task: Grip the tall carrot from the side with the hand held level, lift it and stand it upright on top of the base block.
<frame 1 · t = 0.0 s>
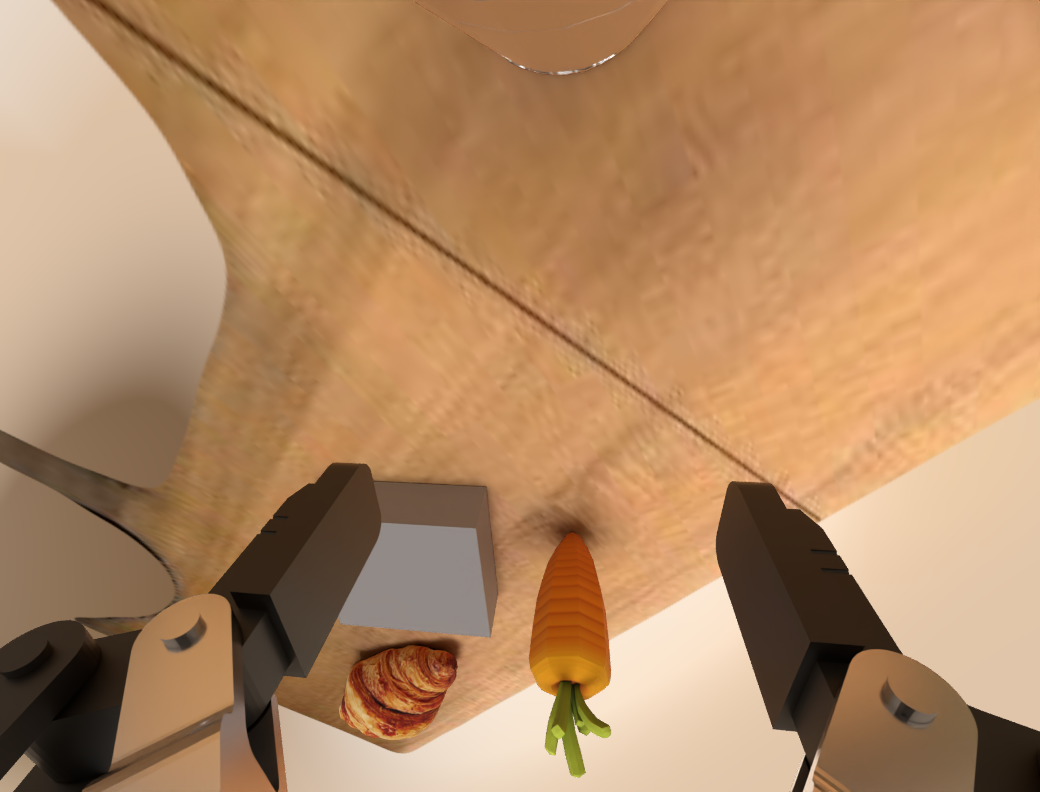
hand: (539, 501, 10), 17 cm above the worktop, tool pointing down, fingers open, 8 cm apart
croissant: (398, 666, 51), on the worktop
carrot: (572, 531, 36), on the worktop
base block: (416, 540, 38), on the worktop
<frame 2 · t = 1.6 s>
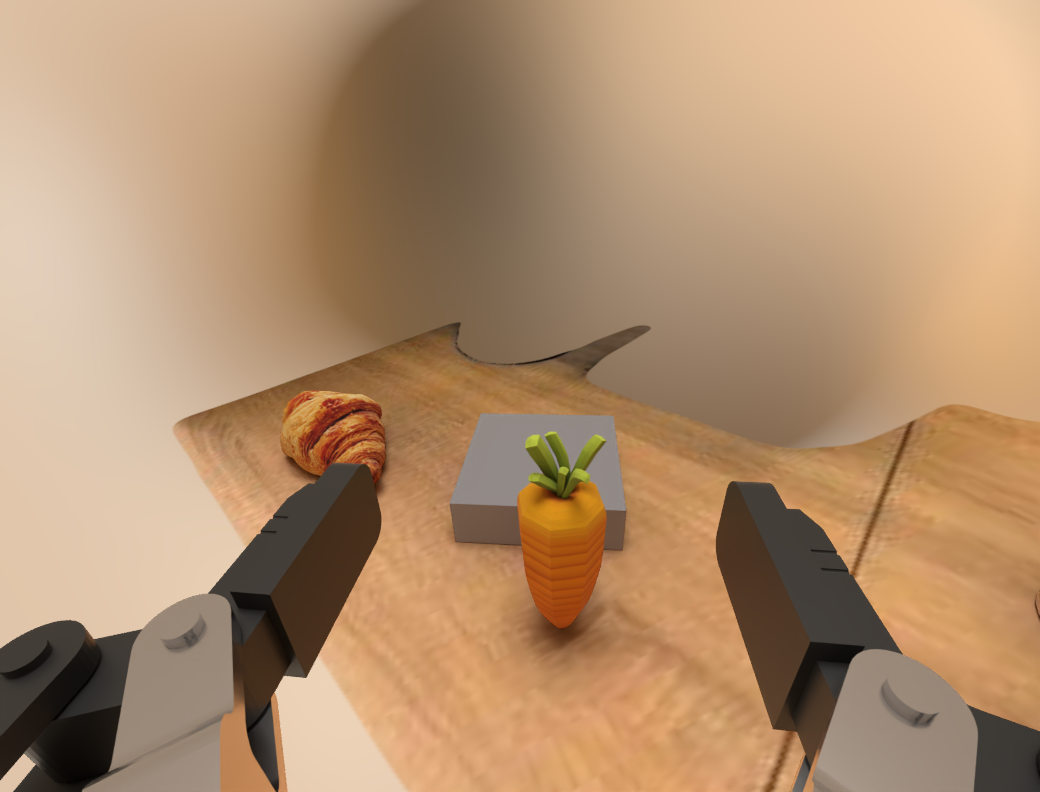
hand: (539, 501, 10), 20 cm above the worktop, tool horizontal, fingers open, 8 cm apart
croissant: (340, 449, 49), on the worktop
carrot: (560, 626, 30), on the worktop
base block: (542, 490, 41), on the worktop
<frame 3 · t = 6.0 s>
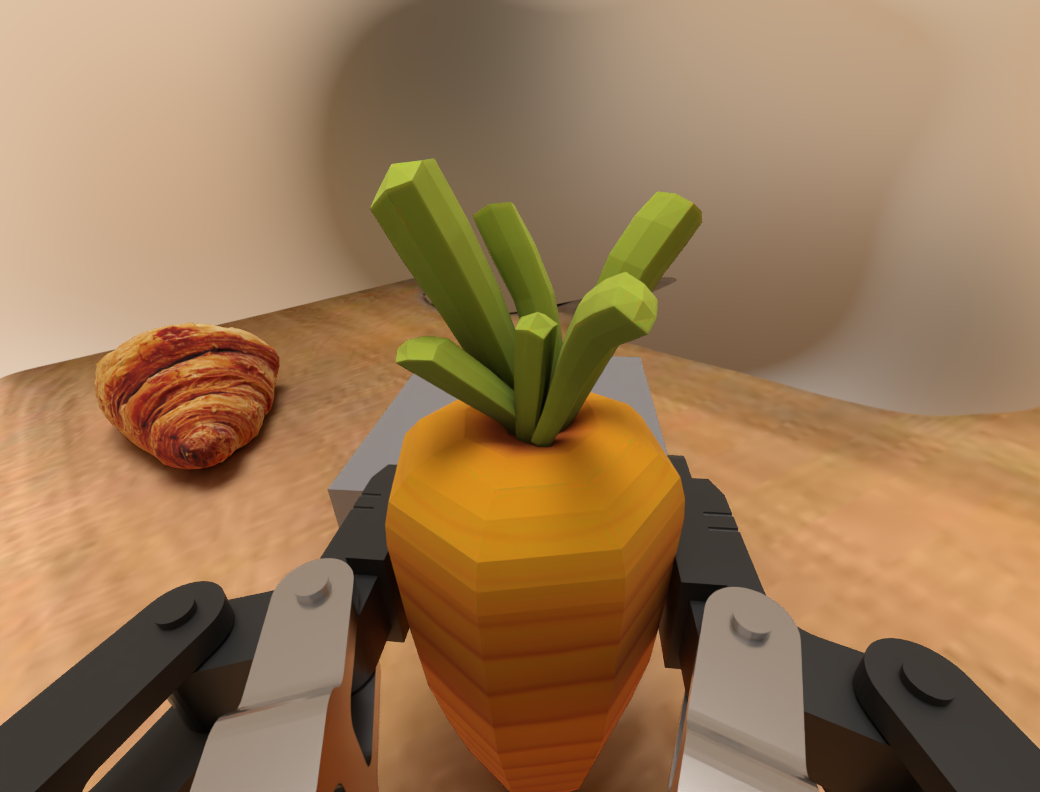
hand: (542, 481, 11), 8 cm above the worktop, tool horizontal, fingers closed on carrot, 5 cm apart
croissant: (211, 415, 32), on the worktop
carrot: (538, 777, 13), on the worktop, touching gripper
base block: (521, 474, 24), on the worktop
when the fingers open (13 cm above the worktop, at t = 10.2 s): carrot drops 1 cm, resting on base block.
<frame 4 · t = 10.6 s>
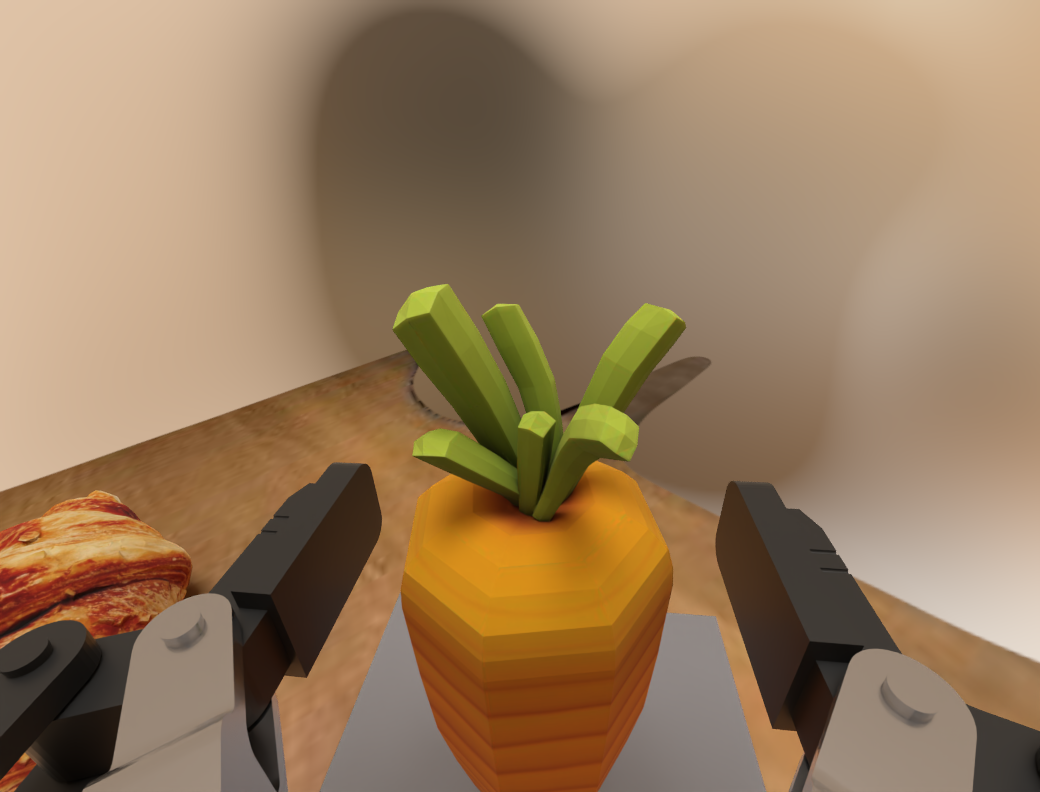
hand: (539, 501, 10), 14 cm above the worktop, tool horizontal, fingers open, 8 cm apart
croissant: (92, 646, 23), on the worktop
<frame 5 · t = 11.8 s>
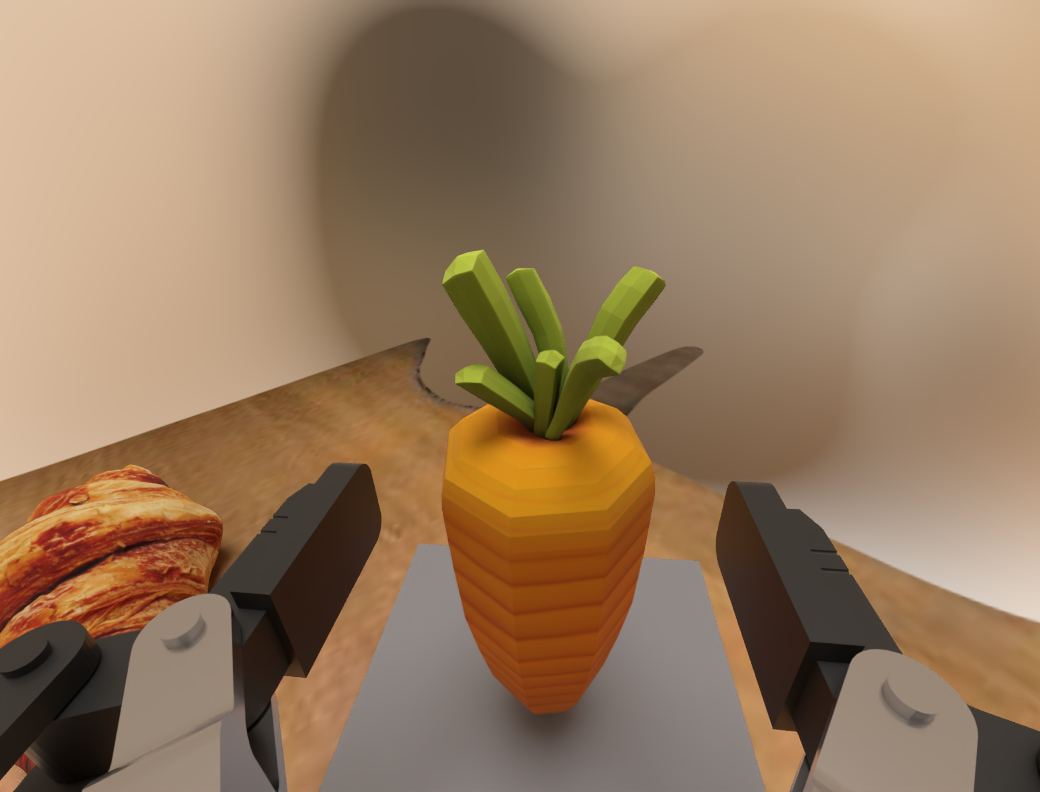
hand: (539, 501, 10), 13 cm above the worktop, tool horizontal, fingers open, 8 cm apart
croissant: (133, 600, 25), on the worktop
carrot: (546, 706, 16), point 4 cm above the worktop, touching base block
base block: (545, 758, 17), on the worktop
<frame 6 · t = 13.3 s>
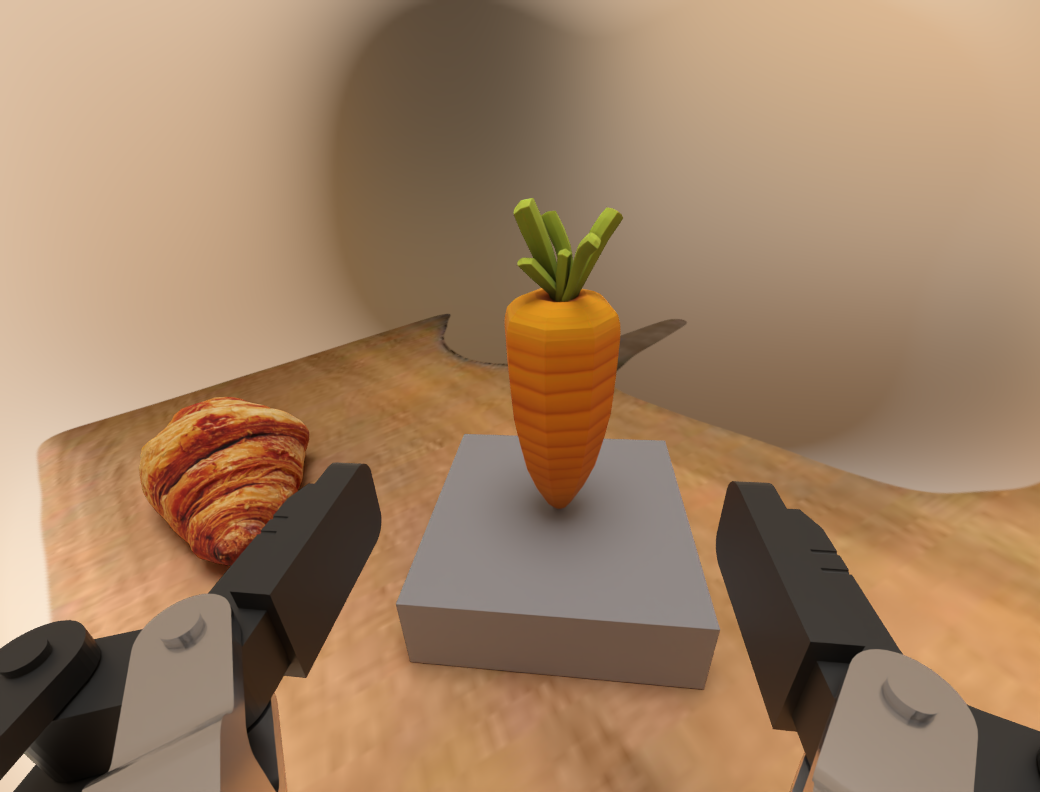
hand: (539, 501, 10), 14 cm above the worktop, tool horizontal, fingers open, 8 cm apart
croissant: (244, 486, 33), on the worktop
carrot: (558, 510, 24), point 4 cm above the worktop, touching base block
base block: (557, 559, 26), on the worktop
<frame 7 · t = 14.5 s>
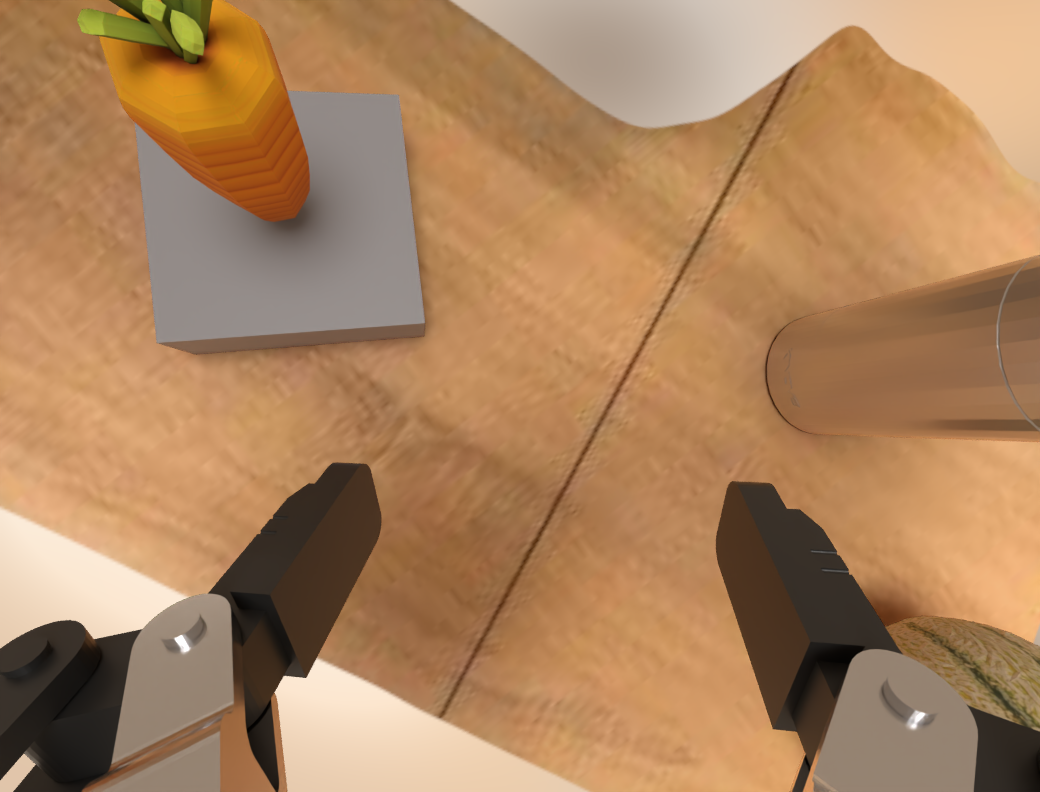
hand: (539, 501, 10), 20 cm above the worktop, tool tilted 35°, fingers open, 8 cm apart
carrot: (288, 214, 24), point 4 cm above the worktop, touching base block
base block: (304, 239, 28), on the worktop
cantaloupe: (865, 680, 35), on the worktop
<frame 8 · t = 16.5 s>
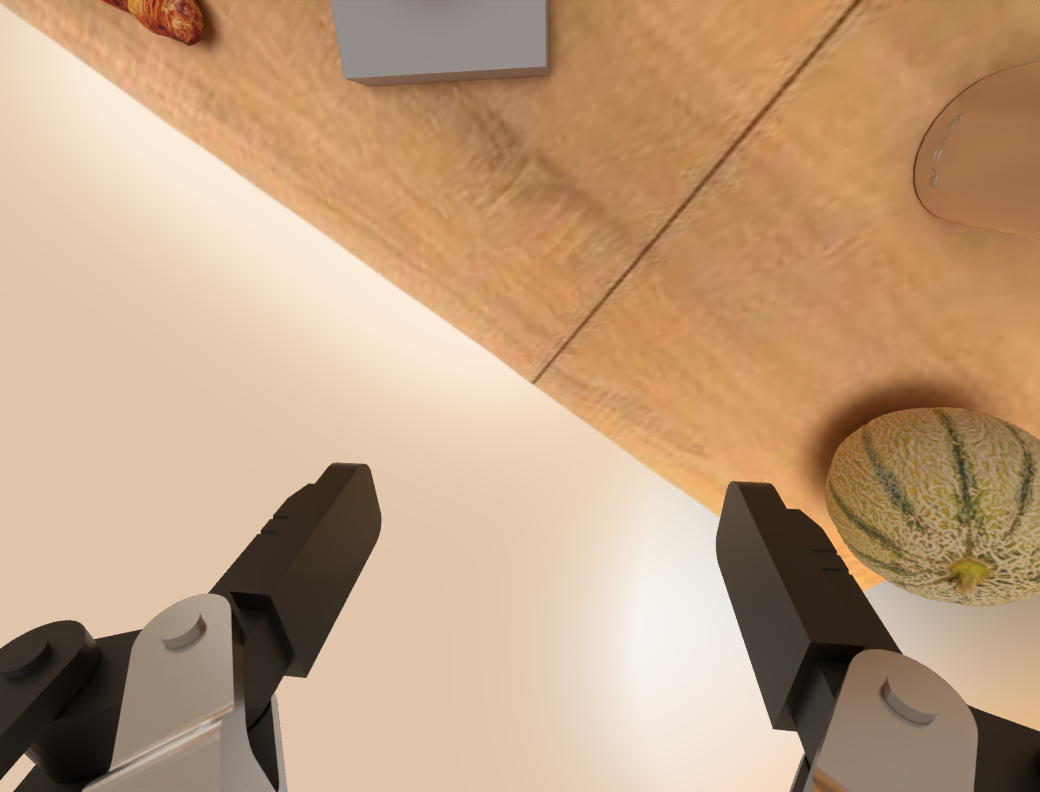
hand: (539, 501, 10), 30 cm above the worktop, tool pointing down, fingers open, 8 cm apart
cantaloupe: (883, 445, 42), on the worktop
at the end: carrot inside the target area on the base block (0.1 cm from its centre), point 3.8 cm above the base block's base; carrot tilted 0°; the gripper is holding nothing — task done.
